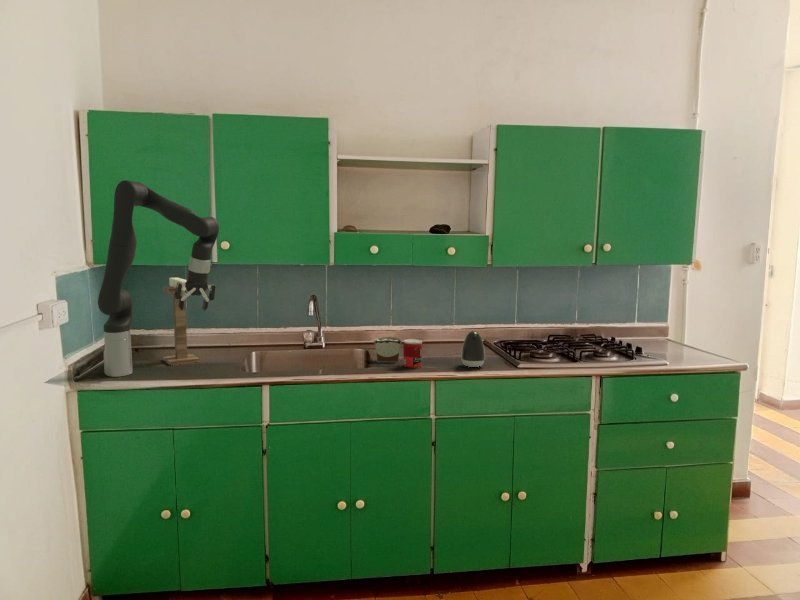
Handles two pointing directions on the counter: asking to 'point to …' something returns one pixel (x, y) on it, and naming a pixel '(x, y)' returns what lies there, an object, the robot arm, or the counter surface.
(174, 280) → the bar
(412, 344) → the canned food
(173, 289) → the stand
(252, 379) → the counter surface
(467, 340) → the grey egg shaped speaker
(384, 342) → the food container
